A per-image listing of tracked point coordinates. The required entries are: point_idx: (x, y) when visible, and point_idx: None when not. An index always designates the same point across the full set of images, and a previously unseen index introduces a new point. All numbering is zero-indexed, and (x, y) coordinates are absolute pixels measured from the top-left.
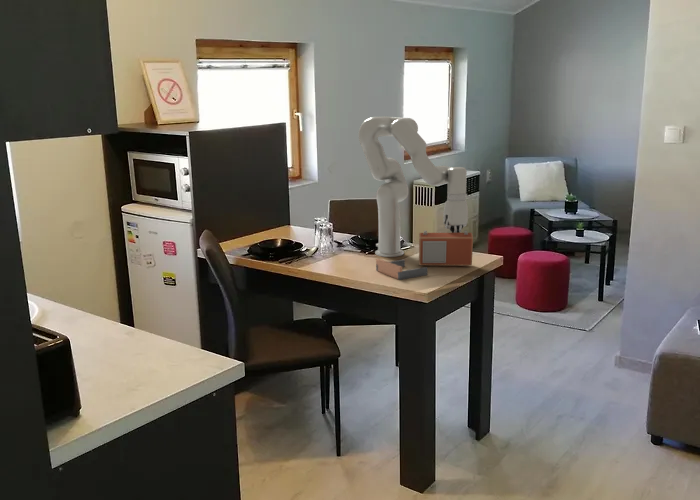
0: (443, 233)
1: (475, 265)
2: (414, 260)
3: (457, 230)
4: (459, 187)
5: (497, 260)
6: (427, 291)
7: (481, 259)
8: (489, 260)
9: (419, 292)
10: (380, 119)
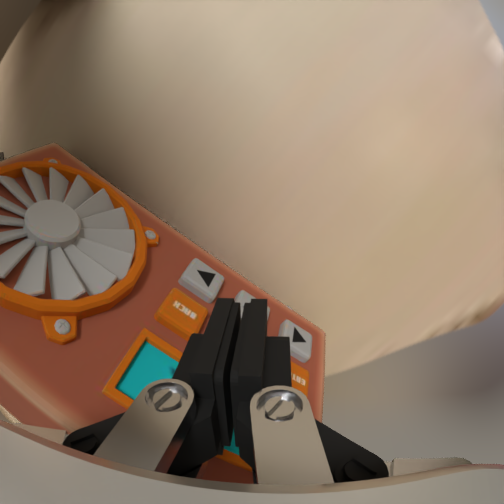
0: (19, 399)
1: (325, 346)
2: (102, 45)
3: (245, 454)
4: None
5: (481, 321)
6: (17, 420)
7: (457, 261)
8: (463, 302)
9: (3, 411)
10: None
